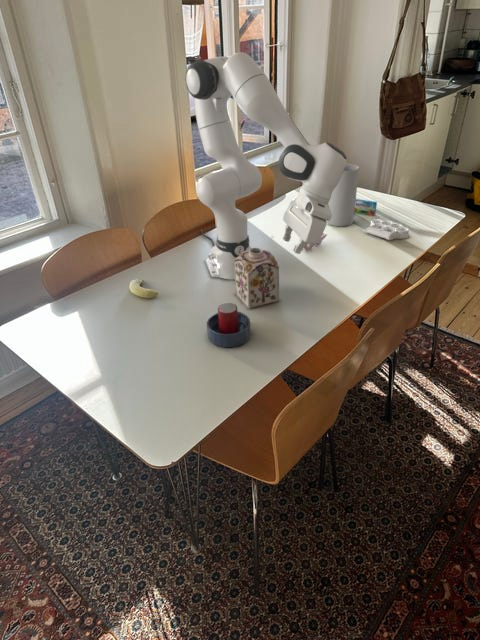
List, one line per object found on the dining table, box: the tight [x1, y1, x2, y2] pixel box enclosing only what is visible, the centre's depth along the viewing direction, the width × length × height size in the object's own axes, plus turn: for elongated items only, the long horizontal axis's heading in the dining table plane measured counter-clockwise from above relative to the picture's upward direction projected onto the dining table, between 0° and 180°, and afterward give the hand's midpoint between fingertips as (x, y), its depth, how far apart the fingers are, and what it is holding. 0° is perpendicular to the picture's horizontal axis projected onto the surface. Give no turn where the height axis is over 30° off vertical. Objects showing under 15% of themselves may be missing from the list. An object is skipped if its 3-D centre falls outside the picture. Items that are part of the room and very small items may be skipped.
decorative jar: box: [234, 247, 280, 310], centre depth 154 cm, size 12×12×18 cm
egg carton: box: [365, 218, 410, 241], centre depth 200 cm, size 3×18×15 cm
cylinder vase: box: [326, 163, 360, 227], centre depth 207 cm, size 12×12×25 cm
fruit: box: [129, 278, 159, 299], centre depth 165 cm, size 7×15×3 cm, turn 32°
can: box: [217, 302, 239, 334], centre depth 138 cm, size 6×6×10 cm
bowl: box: [206, 311, 252, 348], centre depth 140 cm, size 13×13×5 cm
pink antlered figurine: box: [302, 232, 328, 252], centre depth 191 cm, size 6×6×15 cm
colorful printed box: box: [354, 198, 378, 216], centre depth 220 cm, size 12×2×6 cm, turn 58°
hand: (290, 246), depth 137 cm, fingers open, 8 cm apart
